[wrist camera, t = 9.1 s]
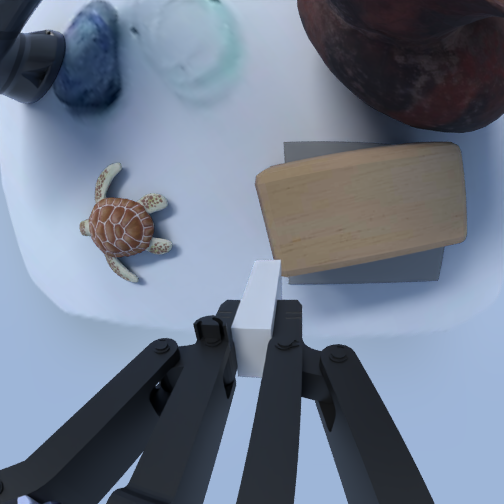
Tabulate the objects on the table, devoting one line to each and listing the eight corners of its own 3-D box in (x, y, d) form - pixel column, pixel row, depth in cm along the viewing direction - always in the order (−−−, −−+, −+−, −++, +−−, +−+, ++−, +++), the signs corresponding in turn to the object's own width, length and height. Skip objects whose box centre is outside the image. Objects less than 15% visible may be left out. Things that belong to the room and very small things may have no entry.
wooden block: (283, 246, 34) (430, 219, 29) (277, 283, 25) (470, 244, 20) (264, 167, 31) (420, 141, 26) (250, 174, 22) (463, 141, 17)
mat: (283, 142, 30) (283, 142, 30) (449, 151, 26) (450, 151, 26) (288, 283, 36) (288, 284, 36) (437, 279, 32) (438, 280, 32)
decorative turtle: (80, 170, 36) (59, 174, 31) (168, 155, 33) (149, 156, 28) (98, 274, 42) (81, 287, 37) (182, 281, 39) (168, 298, 35)
